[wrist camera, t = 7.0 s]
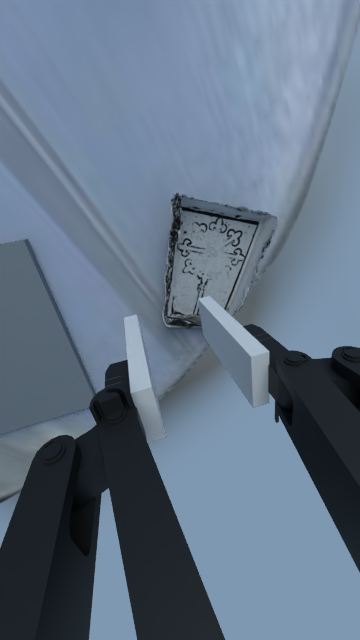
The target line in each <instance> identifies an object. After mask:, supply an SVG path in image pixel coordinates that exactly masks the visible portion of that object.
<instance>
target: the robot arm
mask: <svg viewBox="0 0 360 640" xmlns="http://www.w3.org/2000/svg"><path fill="white" fill-rule="evenodd" d="M198 302H199V309H200V316H201V323H202V330H203V336H204V338H205V339H206V341H207V342H208V343H209V345H210V346H211V348H212V349H213V351H214V352H215V353H216V355H217V356H218V358H219V359H220V361H221V362H222V364H223V365H224V367H225V368H226V369H227V371H228V372H229V374H230V375H231V377H232V378H233V380H234V381H235V383H236V384H237V385H238V387H239V388H240V389H241V391H242V393H243V394H244V396H245V397H246V398H247V400H248V401H249V403H250V404H251V406H252V407H253V408H255V407H258V406H261V405H264V404H267V403H269V393H270V394H271V395H272V397H273V398H274V399H275V421H276V422H279V416H280V418H281V420H282V422H283V424H284V426H285V428H286V430H287V432H288V434H289V436H290V438H291V440H292V442H293V444H294V446H295V447H296V449H297V451H298V453H299V455H300V457H301V459H302V461H303V463H304V465H305V467H306V469H307V471H308V473H309V474H310V477H311V478H312V481H313V482H314V484H315V486H316V488H317V490H318V492H319V494H320V496H321V498H322V500H323V502H324V503H325V506H326V508H327V510H328V512H329V513H330V515H331V517H332V519H333V521H334V523H335V525H336V527H337V529H338V531H339V533H340V535H341V537H342V539H343V541H344V542H345V544H346V547H347V548H348V550H349V552H350V554H351V556H352V558H353V560H354V562H355V564H356V566H357V568H358V570H359V572H360V348H356V347H352V346H343V347H338V348H336V349H334V350H333V352H332V357H331V358H322V359H312V358H311V357H309V356H308V355H307V354H305V353H302V352H298V351H288V350H287V349H286V348H285V347H284V346H282V345H281V344H280V343H279V342H278V341H276V340H275V339H274V338H273V337H271V336H270V335H269V334H268V333H266V332H265V331H264V330H263V329H262V328H260V327H257V326H255V325H253V324H250V325H246V326H241V325H240V324H239V323H238V322H237V321H236V320H235V319H234V318H233V317H232V316H231V315H230V314H229V313H227V312H226V311H225V310H224V309H223V308H222V307H221V306H220V305H219V304H218V303H217V302H216V301H215V300H213V299H212V298H211V297H210V296H207V297H203V298H199V299H198ZM124 323H125V335H126V346H127V358H128V360H125V361H121V362H118V363H114V364H111V365H110V366H109V367H108V369H107V371H106V373H105V389H103V390H101V391H99V392H98V393H97V394H96V395H95V396H94V397H93V398H92V400H91V402H90V406H89V409H90V411H91V413H92V415H93V417H94V419H95V421H96V423H97V425H95V426H94V427H93V428H92V429H91V430H89V431H88V432H87V433H85V434H83V435H82V436H80V437H78V438H76V439H75V440H74V438H73V437H72V436H69V435H62V436H58V437H55V438H53V439H51V440H50V441H48V442H47V443H45V444H44V445H43V446H42V447H41V448H40V449H39V450H38V451H37V453H36V455H35V457H34V458H33V461H32V463H31V466H30V469H29V471H28V474H27V477H26V480H25V482H24V485H23V488H22V491H21V493H20V496H19V499H18V501H17V504H16V507H15V510H14V512H13V515H12V518H11V520H10V523H9V526H8V529H7V532H6V534H5V537H4V539H3V542H2V545H1V548H0V640H89V631H90V619H91V608H92V596H93V585H94V573H95V561H96V550H97V538H98V526H99V515H100V504H101V493H102V492H104V491H105V490H106V489H108V488H109V490H110V496H111V501H112V506H113V512H114V517H115V522H116V528H117V533H118V538H119V544H120V549H121V555H122V560H123V565H124V571H125V576H126V581H127V587H128V592H129V597H130V603H131V608H132V613H133V619H134V624H135V630H136V635H137V640H225V638H224V636H223V633H222V631H221V628H220V625H219V623H218V620H217V618H216V615H215V613H214V610H213V608H212V605H211V603H210V600H209V598H208V595H207V593H206V590H205V588H204V585H203V582H202V580H201V577H200V575H199V572H198V570H197V567H196V565H195V562H194V560H193V557H192V555H191V552H190V549H189V547H188V544H187V542H186V539H185V537H184V535H183V532H182V529H181V527H180V524H179V522H178V519H177V516H176V514H175V511H174V509H173V506H172V504H171V501H170V499H169V496H168V494H167V491H166V489H165V486H164V484H163V481H162V479H161V476H160V473H159V471H158V468H157V466H156V463H155V461H154V458H153V456H152V453H151V451H150V448H149V446H148V443H151V442H153V441H157V440H160V439H163V438H165V437H166V434H165V429H164V424H163V420H162V416H161V411H160V407H159V402H158V398H157V394H156V389H155V385H154V380H153V376H152V371H151V367H150V363H149V358H148V354H147V350H146V346H145V343H144V339H143V335H142V332H141V328H140V325H139V321H138V318H137V315H133V316H129V317H125V318H124ZM147 441H148V443H147Z"/></svg>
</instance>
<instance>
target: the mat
mask: <svg viewBox="0 0 360 640" xmlns="http://www.w3.org/2000/svg"><path fill="white" fill-rule="evenodd" d="M95 395H96V393H95V391H94V389H93V387H92V384H91V382H90V380H89V378H88V375H87V373H86V371H85V369H84V366H83V364H82V362H81V359H80V357H79V355H78V353H77V350H76V348H75V346H74V344H73V341H72V339H71V337H70V335H69V332H68V330H67V328H66V325H65V323H64V321H63V319H62V316H61V314H60V312H59V310H58V307H57V305H56V303H55V301H54V298H53V296H52V294H51V291H50V289H49V287H48V285H47V282H46V280H45V278H44V276H43V273H42V271H41V269H40V267H39V264H38V262H37V260H36V257H35V255H34V253H33V251H32V248H31V246H30V244H29V242H28V239H25V240H20V241H15V242H10V243H5V244H0V434H3V433H6V432H10V431H13V430H16V429H20V428H23V427H26V426H29V425H33V424H36V423H39V422H43V421H46V420H49V419H53V418H56V417H59V416H63V415H66V414H69V413H73V412H76V411H79V410H83V409H86V408H89V406H90V402H91V400H92V398H93V397H94V396H95Z"/></svg>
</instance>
